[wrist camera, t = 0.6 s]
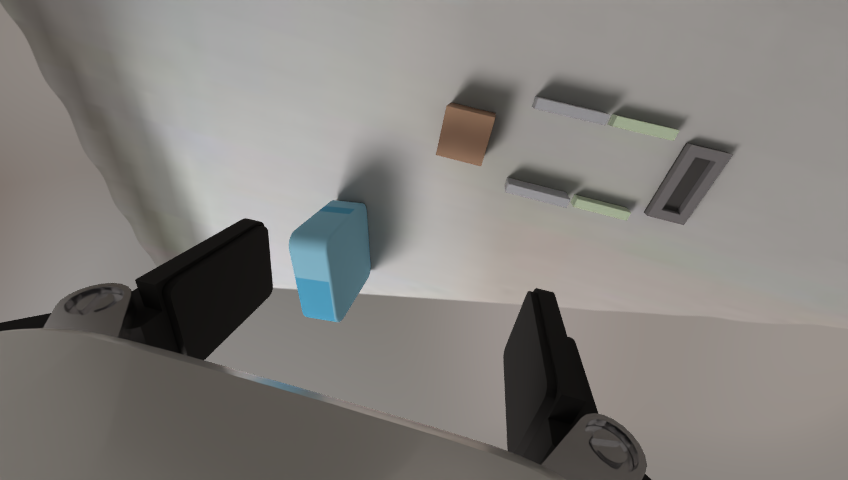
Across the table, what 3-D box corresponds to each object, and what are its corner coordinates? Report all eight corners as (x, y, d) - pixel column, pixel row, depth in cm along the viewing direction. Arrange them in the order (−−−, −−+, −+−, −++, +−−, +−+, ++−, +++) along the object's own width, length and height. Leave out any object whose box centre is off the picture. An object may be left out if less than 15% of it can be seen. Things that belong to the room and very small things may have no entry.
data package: (335, 196, 43) (285, 236, 33) (366, 199, 43) (325, 241, 32) (344, 269, 49) (303, 322, 39) (371, 272, 48) (338, 328, 38)
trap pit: (686, 142, 32) (691, 144, 31) (726, 152, 32) (733, 154, 31) (643, 212, 36) (647, 215, 35) (679, 221, 36) (683, 225, 35)
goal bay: (612, 114, 32) (617, 116, 31) (672, 128, 32) (679, 130, 31) (570, 202, 37) (573, 206, 36) (621, 215, 37) (626, 220, 36)
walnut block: (451, 102, 35) (446, 105, 32) (495, 112, 35) (495, 117, 31) (441, 147, 37) (435, 154, 34) (482, 157, 37) (481, 166, 34)
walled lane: (535, 96, 33) (538, 97, 31) (602, 111, 32) (610, 114, 30) (504, 185, 38) (505, 192, 36) (562, 200, 37) (566, 208, 35)
